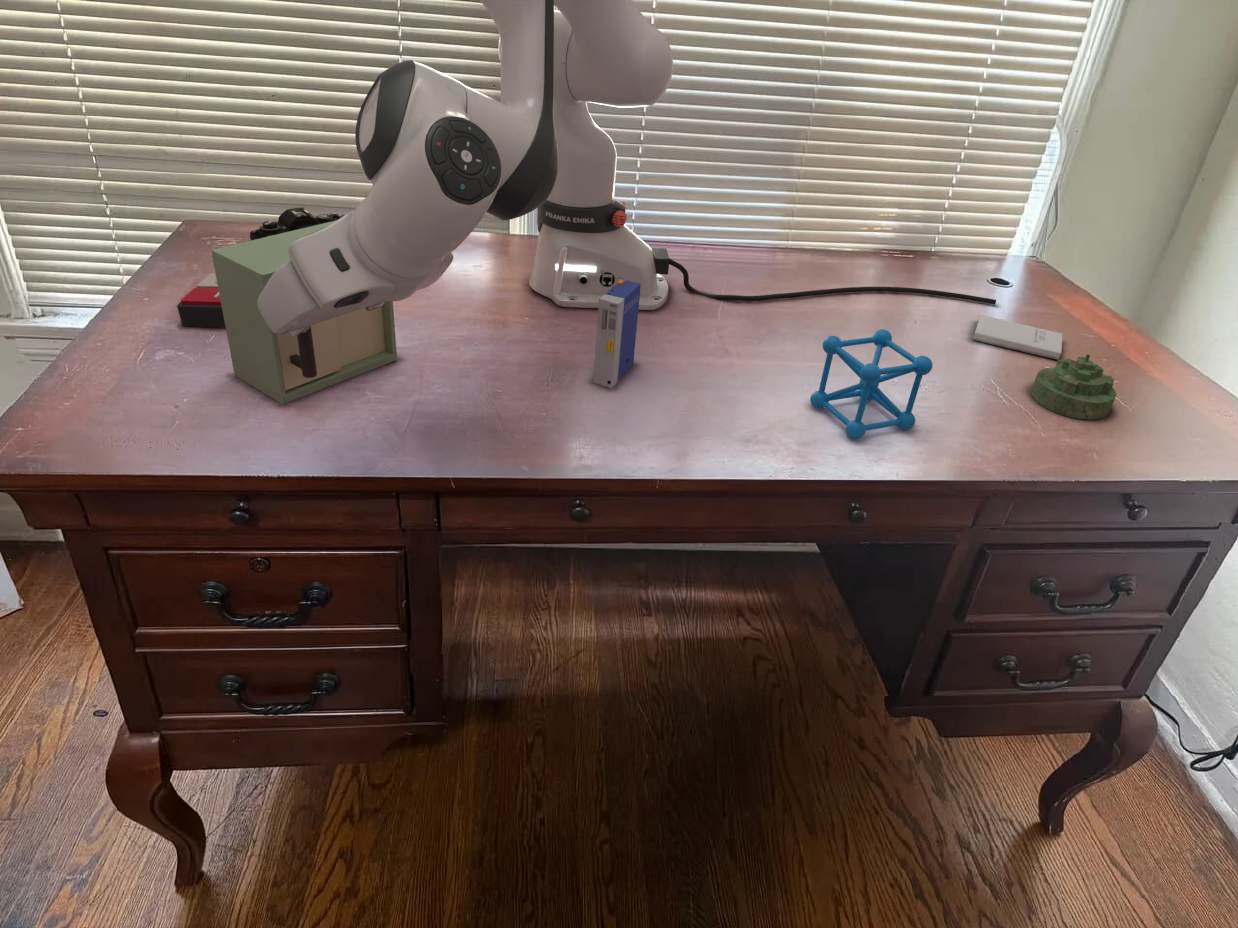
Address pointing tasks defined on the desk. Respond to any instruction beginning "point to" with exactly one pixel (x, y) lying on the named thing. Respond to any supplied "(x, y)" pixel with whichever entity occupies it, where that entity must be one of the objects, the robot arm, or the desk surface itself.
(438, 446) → the desk surface
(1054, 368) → the decorative artifact
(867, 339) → the molecular structure
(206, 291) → the red and black box
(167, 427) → the desk surface
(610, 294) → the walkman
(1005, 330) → the hard drive
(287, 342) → the door
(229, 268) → the cabinet
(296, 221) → the film camera
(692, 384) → the desk surface
